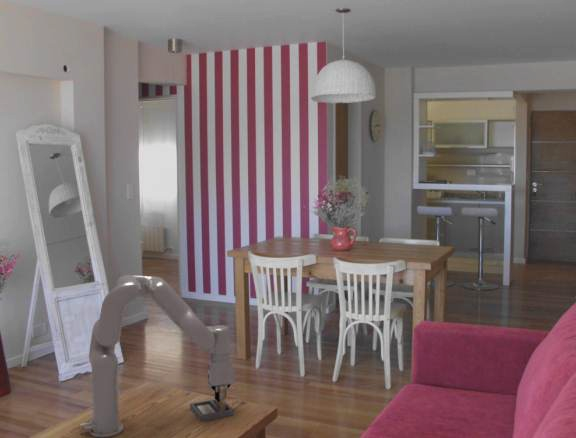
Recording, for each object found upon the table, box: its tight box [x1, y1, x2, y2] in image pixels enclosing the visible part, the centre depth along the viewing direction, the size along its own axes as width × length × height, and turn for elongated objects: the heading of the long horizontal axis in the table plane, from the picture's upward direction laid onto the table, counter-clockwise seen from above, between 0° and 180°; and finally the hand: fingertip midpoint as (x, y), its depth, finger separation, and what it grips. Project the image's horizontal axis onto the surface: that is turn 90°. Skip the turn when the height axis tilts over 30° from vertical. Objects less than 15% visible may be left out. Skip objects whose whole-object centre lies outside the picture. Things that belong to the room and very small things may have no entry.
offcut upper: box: [197, 404, 215, 415], centre depth 265 cm, size 5×10×2 cm, turn 25°
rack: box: [189, 398, 234, 423], centre depth 266 cm, size 14×14×3 cm
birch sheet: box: [214, 385, 227, 411], centre depth 267 cm, size 2×7×12 cm, turn 25°
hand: (220, 399), depth 267 cm, fingers closed on birch sheet
